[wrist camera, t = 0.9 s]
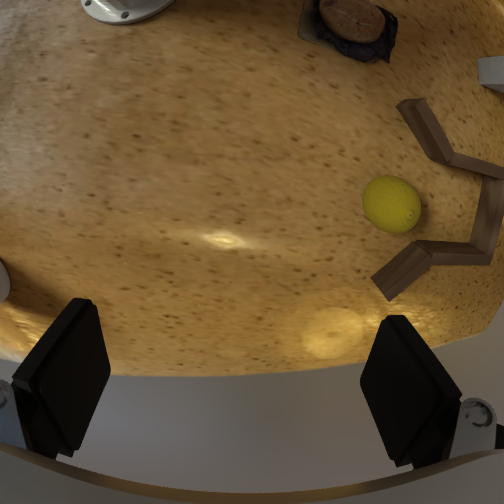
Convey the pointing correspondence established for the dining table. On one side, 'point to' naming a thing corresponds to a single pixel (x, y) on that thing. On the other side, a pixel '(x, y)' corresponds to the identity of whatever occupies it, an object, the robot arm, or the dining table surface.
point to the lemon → (391, 204)
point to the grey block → (492, 72)
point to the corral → (486, 222)
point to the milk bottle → (4, 283)
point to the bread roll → (349, 28)
